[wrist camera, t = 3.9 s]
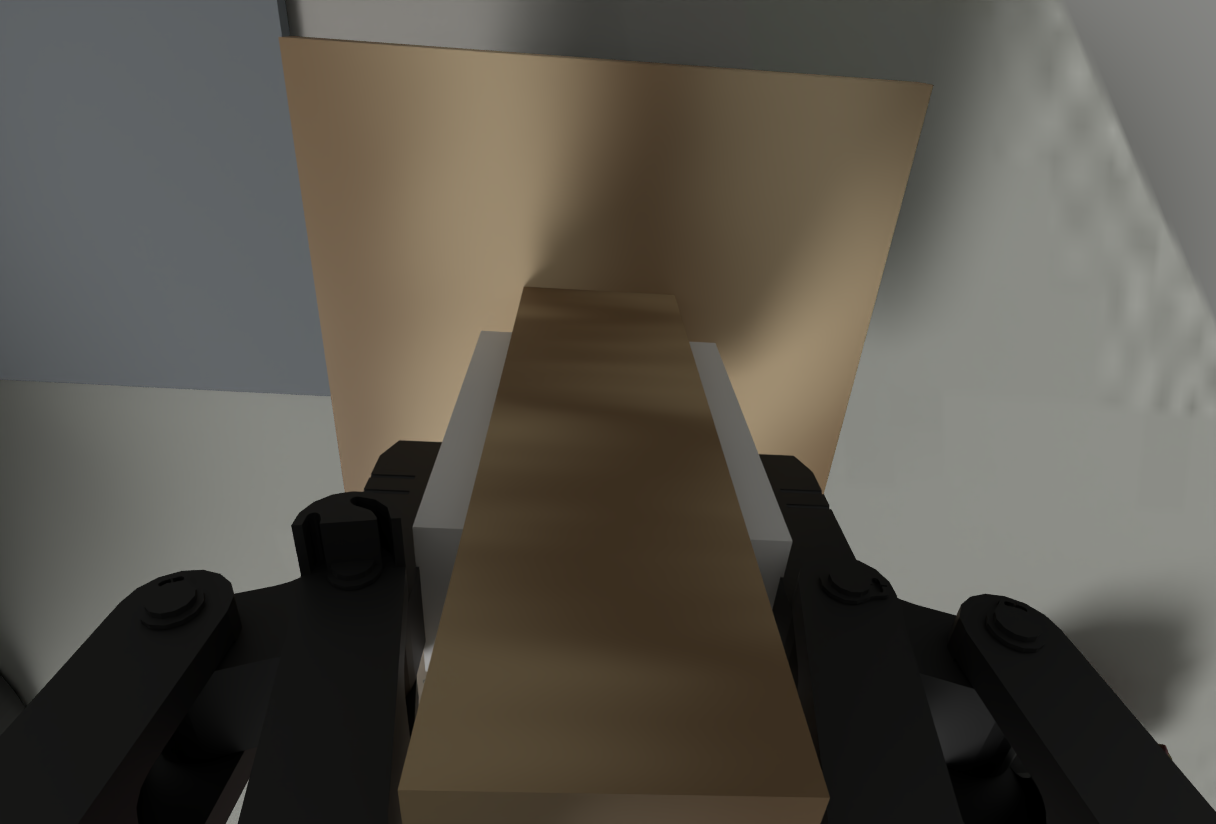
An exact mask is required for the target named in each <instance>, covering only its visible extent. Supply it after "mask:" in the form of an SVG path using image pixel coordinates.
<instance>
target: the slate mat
mask: <svg viewBox="0 0 1216 824" xmlns="http://www.w3.org/2000/svg"><path fill="white" fill-rule="evenodd" d="M287 36H290V32H289V25H288V17H287V10H286V3H285V0H0V380H19V381H39V382H59V383H79V384H98V385H118V386H138V387H157V388H177V389H197V390H217V391H236V392H256V393H276V394H296V395H315V396H331V393H330V386H329V380H328V373H327V366H326V359H325V352H324V345H323V338H322V332H321V325H320V318H319V311H318V304H317V297H316V291H315V284H314V277H313V270H312V263H311V256H310V250H309V243H308V236H307V229H306V222H305V215H304V209H303V202H302V195H301V188H300V181H299V174H298V168H297V161H296V154H295V147H294V140H293V133H292V126H291V120H290V113H289V106H288V99H287V92H286V85H285V79H284V72H283V65H282V58H281V51H280V44H279V38H278V37H287Z"/></svg>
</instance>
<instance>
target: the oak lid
mask: <svg viewBox="0 0 1216 824" xmlns="http://www.w3.org/2000/svg"><path fill="white" fill-rule="evenodd" d="M278 38H279V44H280V51H281V58H282V65H283V72H284V79H285V85H286V92H287V99H288V106H289V113H290V120H291V126H292V133H293V140H294V147H295V154H296V161H297V168H298V174H299V181H300V188H301V195H302V202H303V209H304V215H305V222H306V229H307V236H308V243H309V250H310V256H311V263H312V270H313V277H314V284H315V291H316V297H317V304H318V311H319V318H320V325H321V332H322V338H323V345H324V352H325V359H326V366H327V373H328V380H329V386H330V393H331V400H332V407H333V414H334V421H335V427H336V434H337V441H338V448H339V455H340V462H341V468H342V475H343V482H344V489H345V492H351V491H359V492H364V487H365V485H366V483H367V481H368V479H369V477H370V478H371V473H372V471H373V469H374V467H375V464H376V462H377V460H378V458H379V456H380V455H381V454H382V453H384V452H385V451H386V450H387V449H389V448H390V447H391V446H393V445H394V444H395V443H396V442H398V441H399V440H406V441H429V442H442V441H443V438H444V435H445V433H446V430H447V427H448V424H449V421H450V418H451V415H452V413H453V410H454V407H455V404H456V401H457V398H458V395H459V393H460V390H461V387H462V384H463V381H464V378H465V375H466V373H467V370H468V367H469V364H470V361H471V358H472V355H473V353H474V350H475V347H476V344H477V341H478V338H479V335H480V333H481V331H496V332H512V335H511V339H510V343H509V347H508V351H507V355H506V359H505V363H504V367H503V371H502V375H501V379H500V383H499V387H498V391H497V395H496V399H495V403H494V407H493V411H492V415H491V419H490V423H489V427H488V431H487V435H486V439H485V443H484V447H483V451H482V455H481V459H480V463H479V467H478V471H477V475H476V479H475V483H474V487H473V491H472V495H471V499H470V503H469V507H468V511H467V515H466V519H465V523H464V527H463V531H462V535H461V539H460V543H459V547H458V551H457V555H456V559H455V563H454V567H453V571H452V575H451V579H450V583H449V587H448V591H447V595H446V599H445V603H444V607H443V611H442V615H441V619H440V623H439V627H438V631H437V635H436V639H435V643H434V647H433V651H432V655H431V659H430V663H429V667H428V671H427V675H426V679H425V683H424V687H423V691H422V695H421V699H420V703H419V707H418V711H417V715H416V719H415V723H414V727H413V731H412V735H411V739H410V743H409V747H408V751H407V755H406V759H405V763H404V767H403V771H402V775H401V779H400V783H399V787H398V796H399V803H400V811H401V818H402V824H820V823H821V821H822V818H823V815H824V813H825V810H826V807H827V805H828V802H829V799H830V796H829V793H828V789H827V786H826V783H825V780H824V776H823V773H822V770H821V767H820V764H819V760H818V757H817V754H816V751H815V747H814V744H813V741H812V738H811V734H810V731H809V728H808V725H807V722H806V718H805V715H804V712H803V709H802V705H801V702H800V699H799V696H798V692H797V689H796V686H795V683H794V679H793V676H792V673H791V670H790V667H789V663H788V660H787V657H786V654H785V650H784V647H783V644H782V641H781V637H780V634H779V631H778V628H777V625H776V621H775V618H774V615H773V612H772V608H771V605H770V602H769V599H768V595H767V592H766V589H765V586H764V582H763V579H762V576H761V573H760V570H759V566H758V563H757V560H756V557H755V553H754V550H753V547H752V544H751V540H750V537H749V534H748V531H747V528H746V524H745V521H744V518H743V515H742V511H741V508H740V505H739V502H738V498H737V495H736V492H735V489H734V485H733V482H732V479H731V476H730V473H729V469H728V466H727V463H726V460H725V456H724V453H723V450H722V447H721V443H720V440H719V437H718V434H717V431H716V427H715V424H714V421H713V418H712V414H711V411H710V408H709V405H708V401H707V398H706V395H705V392H704V388H703V385H702V382H701V379H700V376H699V372H698V369H697V366H696V363H695V359H694V356H693V353H692V350H691V346H690V343H689V342H706V343H716V346H717V348H718V351H719V354H720V356H721V359H722V361H723V364H724V366H725V369H726V372H727V374H728V377H729V379H730V382H731V384H732V387H733V390H734V392H735V395H736V397H737V400H738V402H739V405H740V408H741V410H742V413H743V415H744V418H745V420H746V423H747V426H748V428H749V431H750V433H751V436H752V438H753V441H754V444H755V446H756V449H757V451H758V454H769V455H791V456H795V457H796V458H797V459H798V460H800V461H801V462H802V463H803V464H804V465H805V466H806V467H808V468H809V469H810V470H811V471H812V472H813V473H814V475H815V477H816V479H817V481H818V483H819V486H820V488H821V490H822V494H824V491H825V487H826V483H827V479H828V476H829V472H830V468H831V464H832V461H833V457H834V453H835V450H836V446H837V442H838V438H839V435H840V431H841V427H842V424H843V420H844V416H845V412H846V409H847V405H848V401H849V397H850V394H851V390H852V386H853V383H854V379H855V375H856V371H857V368H858V364H859V360H860V357H861V353H862V349H863V345H864V342H865V338H866V334H867V330H868V327H869V323H870V319H871V316H872V312H873V308H874V304H875V301H876V297H877V293H878V290H879V286H880V282H881V278H882V275H883V271H884V267H885V263H886V260H887V256H888V252H889V249H890V245H891V241H892V237H893V234H894V230H895V226H896V223H897V219H898V215H899V211H900V208H901V204H902V200H903V196H904V193H905V189H906V185H907V182H908V178H909V174H910V170H911V167H912V163H913V159H914V156H915V152H916V148H917V144H918V141H919V137H920V133H921V129H922V126H923V122H924V118H925V115H926V111H927V107H928V103H929V100H930V96H931V92H932V89H933V85H931V84H925V83H920V82H911V81H897V80H883V79H870V78H856V77H843V76H829V75H815V74H802V73H788V72H775V71H761V70H747V69H734V68H720V67H706V66H693V65H679V64H666V63H652V62H638V61H625V60H611V59H598V58H584V57H570V56H557V55H543V54H530V53H516V52H502V51H489V50H475V49H462V48H448V47H434V46H421V45H407V44H394V43H380V42H366V41H353V40H339V39H326V38H312V37H298V36H287V37H278Z"/></svg>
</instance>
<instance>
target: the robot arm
mask: <svg viewBox="0 0 1216 824" xmlns="http://www.w3.org/2000/svg"><path fill="white" fill-rule="evenodd" d="M511 335H512V332H496V331H481V333H480V335H479V338H478V341H477V344H476V347H475V350H474V353H473V355H472V358H471V361H470V364H469V367H468V370H467V373H466V375H465V378H464V381H463V384H462V387H461V390H460V393H459V395H458V398H457V401H456V404H455V407H454V410H453V413H452V415H451V418H450V421H449V424H448V427H447V430H446V433H445V435H444V438H443V441H442V442H429V441H406V440H399V441H398V442H396V443H395V444H394V445H393V446H391V447H390V448H389V449H387V450H386V451H385V452H384V453H382V454H381V455H380V456H379V458H378V460H377V462H376V464H375V467H374V469H373V471H372V473H371V478H370V477H369V479H368V481H367V483H366V485H365V487H364V492H359V491H351V492H345V493H339V494H333V495H330V496H328V497H325V498H323V499H320V500H318V501H315V502H313V503H312V504H310V505H309V506H308V507H306V508H305V509H304V510H302V511H301V512H300V513H299V514H298V516H297V517H296V519H295V520H294V522H293V524H292V525H291V527H292V532H293V537H294V542H295V547H296V552H297V557H298V562H299V567H300V572H301V577H300V578H298V579H296V580H293V581H291V582H288V583H284V584H280V585H276V586H272V587H267V588H262V589H257V590H251V591H246V592H241V593H236V594H234V592H233V588H232V584H231V582H229V581H228V580H227V579H226V578H225V577H223V576H222V575H221V574H218V573H214V572H210V571H206V570H191V571H180V572H176V573H173V574H169V575H165V576H162V577H158V578H156V579H155V580H153V581H151V582H149V583H147V584H145V585H143V586H141V587H139V588H137V589H136V590H134V591H133V592H132V593H131V594H130V595H129V596H127V597H126V598H125V599H124V600H123V601H121V602H120V603H119V604H118V605H117V606H116V608H115V609H114V610H113V611H112V612H111V613H110V614H109V615H108V617H107V618H106V619H105V620H104V621H103V622H102V623H101V624H100V625H99V627H98V628H97V629H96V630H95V631H94V632H93V633H92V634H91V635H90V637H89V638H88V639H87V640H86V641H85V642H84V643H83V644H82V645H81V647H80V648H79V649H78V650H77V651H76V652H75V653H74V654H73V655H72V657H71V658H70V659H69V660H68V661H67V662H66V663H65V664H64V665H63V667H62V668H61V669H60V670H59V671H58V672H57V673H56V674H55V675H54V677H53V678H52V679H51V680H50V681H49V682H48V683H47V684H46V685H45V687H44V688H43V689H42V690H41V691H40V692H39V693H38V694H37V696H36V697H35V698H34V699H33V700H32V701H31V702H30V703H29V704H28V706H27V707H26V708H24V706H23V704H22V702H21V701H20V699H19V697H18V696H17V694H16V693H15V692H14V690H13V689H12V688H11V687H10V685H9V684H8V683H7V682H6V681H5V680H4V679H3V677H2V676H1V675H0V824H226V822H227V820H228V818H229V816H230V814H231V812H232V810H233V808H234V807H235V805H236V803H237V801H238V799H239V797H240V795H241V793H242V791H243V789H244V787H245V785H246V783H247V781H248V780H249V782H248V786H247V790H246V793H245V797H244V801H243V805H242V809H241V813H240V817H239V821H238V824H402V818H401V811H400V803H399V796H398V787H399V783H400V779H401V775H402V771H403V767H404V763H405V759H406V755H407V751H408V747H409V743H410V739H411V735H412V731H413V727H414V723H415V719H416V715H417V711H418V706H419V694H418V684H417V672H418V669H419V665H420V661H421V657H422V653H423V650H424V661H425V671H428V667H429V663H430V659H431V655H432V651H433V647H434V643H435V639H436V635H437V631H438V627H439V623H440V619H441V615H442V611H443V607H444V603H445V599H446V595H447V591H448V587H449V583H450V579H451V575H452V571H453V567H454V563H455V559H456V555H457V551H458V547H459V543H460V539H461V535H462V531H463V527H464V523H465V519H466V515H467V511H468V507H469V503H470V499H471V495H472V491H473V487H474V483H475V479H476V475H477V471H478V467H479V463H480V459H481V455H482V451H483V447H484V443H485V439H486V435H487V431H488V427H489V423H490V419H491V415H492V411H493V407H494V403H495V399H496V395H497V391H498V387H499V383H500V379H501V375H502V371H503V367H504V363H505V359H506V355H507V351H508V347H509V343H510V339H511ZM689 343H690V346H691V350H692V353H693V356H694V359H695V363H696V366H697V369H698V372H699V376H700V379H701V382H702V385H703V388H704V392H705V395H706V398H707V401H708V405H709V408H710V411H711V414H712V418H713V421H714V424H715V427H716V431H717V434H718V437H719V440H720V443H721V447H722V450H723V453H724V456H725V460H726V463H727V466H728V469H729V473H730V476H731V479H732V482H733V485H734V489H735V492H736V495H737V498H738V502H739V505H740V508H741V511H742V515H743V518H744V521H745V524H746V528H747V531H748V534H749V537H750V540H751V544H752V547H753V550H754V553H755V557H756V560H757V563H758V566H759V570H760V573H761V576H762V579H763V582H764V586H765V589H766V592H767V595H768V599H769V602H770V605H771V608H772V612H773V615H774V618H775V621H776V625H777V628H778V631H779V634H780V637H781V641H782V644H783V647H784V650H785V654H786V657H787V660H788V663H789V667H790V670H791V673H792V676H793V679H794V683H795V686H796V689H797V692H798V696H799V699H800V702H801V705H802V709H803V712H804V715H805V718H806V722H807V725H808V728H809V731H810V734H811V738H812V741H813V744H814V747H815V751H816V754H817V757H818V760H819V764H820V767H821V770H822V773H823V776H824V780H825V783H826V786H827V789H828V793H829V796H830V799H829V802H828V805H827V807H826V810H825V813H824V815H823V818H822V821H821V823H820V824H1216V812H1215V810H1214V809H1213V808H1212V807H1211V806H1210V805H1209V803H1208V802H1207V801H1206V800H1205V799H1204V797H1203V796H1202V795H1201V794H1200V793H1199V792H1198V790H1197V789H1196V788H1195V787H1194V786H1193V785H1192V783H1191V782H1190V781H1189V780H1188V779H1187V777H1186V776H1185V775H1184V774H1183V773H1182V772H1181V770H1180V769H1179V768H1178V767H1177V766H1176V765H1175V763H1174V762H1173V761H1172V760H1171V759H1170V757H1169V756H1168V755H1167V754H1166V753H1165V752H1164V750H1163V749H1162V748H1161V747H1160V746H1159V745H1158V743H1157V742H1156V741H1155V740H1154V739H1153V737H1152V736H1151V735H1150V734H1149V733H1148V732H1147V730H1146V729H1145V728H1144V727H1143V726H1142V725H1141V723H1140V722H1139V721H1138V720H1137V719H1136V717H1135V716H1134V715H1133V714H1132V713H1131V712H1130V710H1129V709H1128V708H1127V707H1126V706H1125V705H1124V703H1123V702H1122V701H1121V700H1120V699H1119V698H1118V696H1117V695H1116V694H1115V693H1114V692H1113V690H1112V689H1111V688H1110V687H1109V686H1108V685H1107V683H1106V682H1105V681H1104V680H1103V679H1102V678H1101V676H1100V675H1099V674H1098V673H1097V672H1096V670H1095V669H1094V668H1093V667H1092V666H1091V665H1090V663H1089V662H1088V661H1087V660H1086V659H1085V658H1084V656H1083V655H1082V654H1081V653H1080V652H1079V650H1078V649H1077V648H1076V647H1075V646H1074V645H1073V643H1072V642H1071V641H1070V640H1069V639H1068V638H1067V636H1066V635H1065V634H1064V633H1063V632H1062V630H1061V629H1060V628H1058V627H1057V626H1056V625H1055V624H1054V623H1053V622H1052V621H1051V620H1050V619H1049V618H1048V617H1046V616H1045V615H1044V614H1042V613H1040V612H1039V611H1037V610H1035V609H1034V608H1032V607H1030V606H1029V605H1027V604H1025V603H1022V602H1019V601H1017V600H1014V599H1011V598H1008V597H1005V596H999V595H991V594H982V595H977V596H972V597H970V598H968V599H967V600H966V601H965V602H964V603H962V604H961V606H960V609H959V611H958V613H957V616H956V615H952V614H949V613H945V612H941V611H937V610H934V609H930V608H926V607H922V606H918V605H915V604H912V603H909V602H906V601H904V600H901V599H899V598H897V595H896V593H895V591H894V590H893V588H892V586H891V584H890V582H889V581H888V580H887V579H886V578H885V577H883V576H882V575H881V574H880V573H879V572H878V571H877V570H876V569H874V568H872V567H870V566H868V565H866V564H864V563H862V562H860V561H858V560H856V558H855V556H854V554H853V552H852V550H851V548H850V546H849V544H848V542H847V540H846V538H845V536H844V534H843V532H842V530H841V528H840V526H839V524H838V522H837V520H836V518H835V516H834V514H833V512H832V510H831V509H829V504H828V502H827V500H826V498H825V496H824V494H822V490H821V488H820V486H819V483H818V481H817V479H816V477H815V475H814V473H813V472H812V471H811V470H810V469H809V468H808V467H806V466H805V465H804V464H803V463H802V462H801V461H800V460H798V459H797V458H796V457H795V456H791V455H769V454H758V451H757V449H756V446H755V444H754V441H753V438H752V436H751V433H750V431H749V428H748V426H747V423H746V420H745V418H744V415H743V413H742V410H741V408H740V405H739V402H738V400H737V397H736V395H735V392H734V390H733V387H732V384H731V382H730V379H729V377H728V374H727V372H726V369H725V366H724V364H723V361H722V359H721V356H720V354H719V351H718V348H717V346H716V343H706V342H689Z"/></svg>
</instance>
